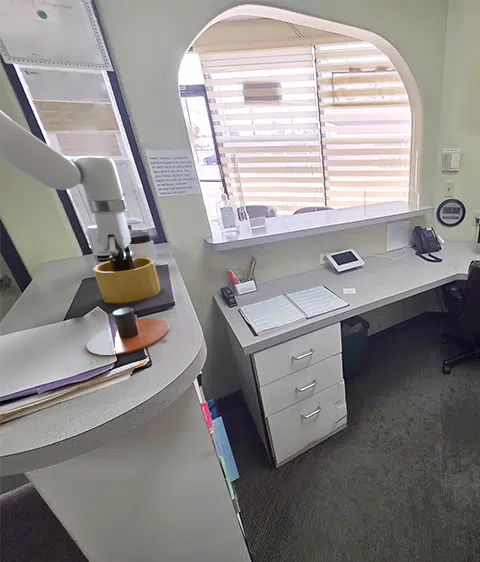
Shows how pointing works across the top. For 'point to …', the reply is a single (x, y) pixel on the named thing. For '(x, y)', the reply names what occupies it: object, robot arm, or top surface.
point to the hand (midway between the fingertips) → (126, 269)
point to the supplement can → (97, 245)
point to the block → (131, 258)
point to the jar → (143, 245)
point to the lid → (136, 331)
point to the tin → (127, 282)
